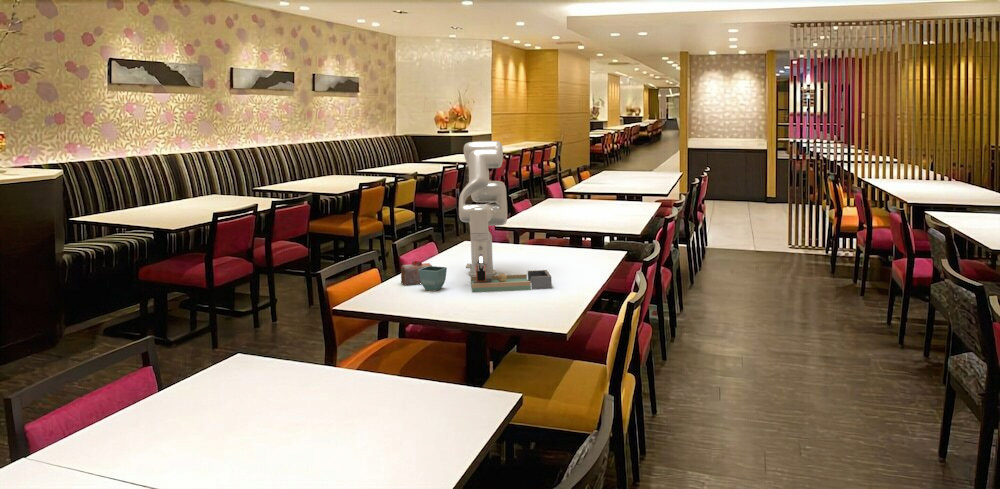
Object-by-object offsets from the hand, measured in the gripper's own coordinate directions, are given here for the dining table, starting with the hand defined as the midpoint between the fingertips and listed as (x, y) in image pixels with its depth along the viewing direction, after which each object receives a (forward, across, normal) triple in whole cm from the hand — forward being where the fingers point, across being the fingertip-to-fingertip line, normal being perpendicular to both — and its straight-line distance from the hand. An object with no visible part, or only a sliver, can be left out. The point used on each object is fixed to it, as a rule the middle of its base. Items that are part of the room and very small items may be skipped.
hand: (480, 278), depth 316 cm
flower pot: (+4, +1, +20) cm, 20 cm away
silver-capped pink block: (+2, 0, -1) cm, 2 cm away
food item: (+4, +15, +27) cm, 31 cm away
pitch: (+4, 0, -8) cm, 9 cm away
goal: (+4, 0, -24) cm, 24 cm away
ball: (0, 0, -9) cm, 9 cm away
